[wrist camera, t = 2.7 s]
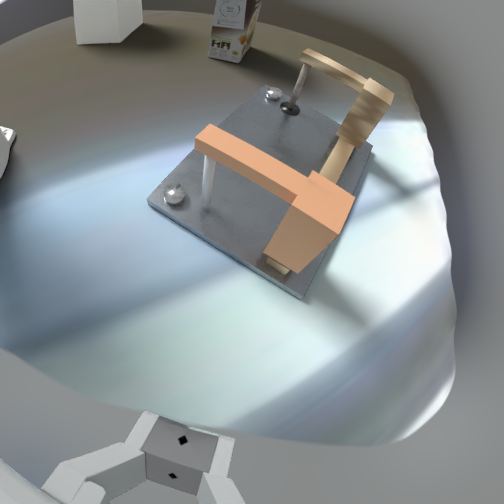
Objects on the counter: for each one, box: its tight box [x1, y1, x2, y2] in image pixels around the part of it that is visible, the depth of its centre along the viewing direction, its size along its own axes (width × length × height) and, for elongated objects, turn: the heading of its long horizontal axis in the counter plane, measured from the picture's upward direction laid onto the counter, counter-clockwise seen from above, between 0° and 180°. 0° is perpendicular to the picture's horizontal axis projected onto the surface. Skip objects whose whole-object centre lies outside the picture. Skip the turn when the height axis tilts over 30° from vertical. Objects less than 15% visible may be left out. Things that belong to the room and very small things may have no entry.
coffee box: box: [208, 0, 262, 63], centre depth 39 cm, size 9×6×16 cm
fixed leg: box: [266, 49, 394, 275], centre depth 31 cm, size 13×26×11 cm, turn 150°
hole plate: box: [147, 85, 373, 299], centre depth 36 cm, size 20×28×2 cm
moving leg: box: [195, 124, 355, 274], centre depth 26 cm, size 13×4×10 cm, turn 60°
